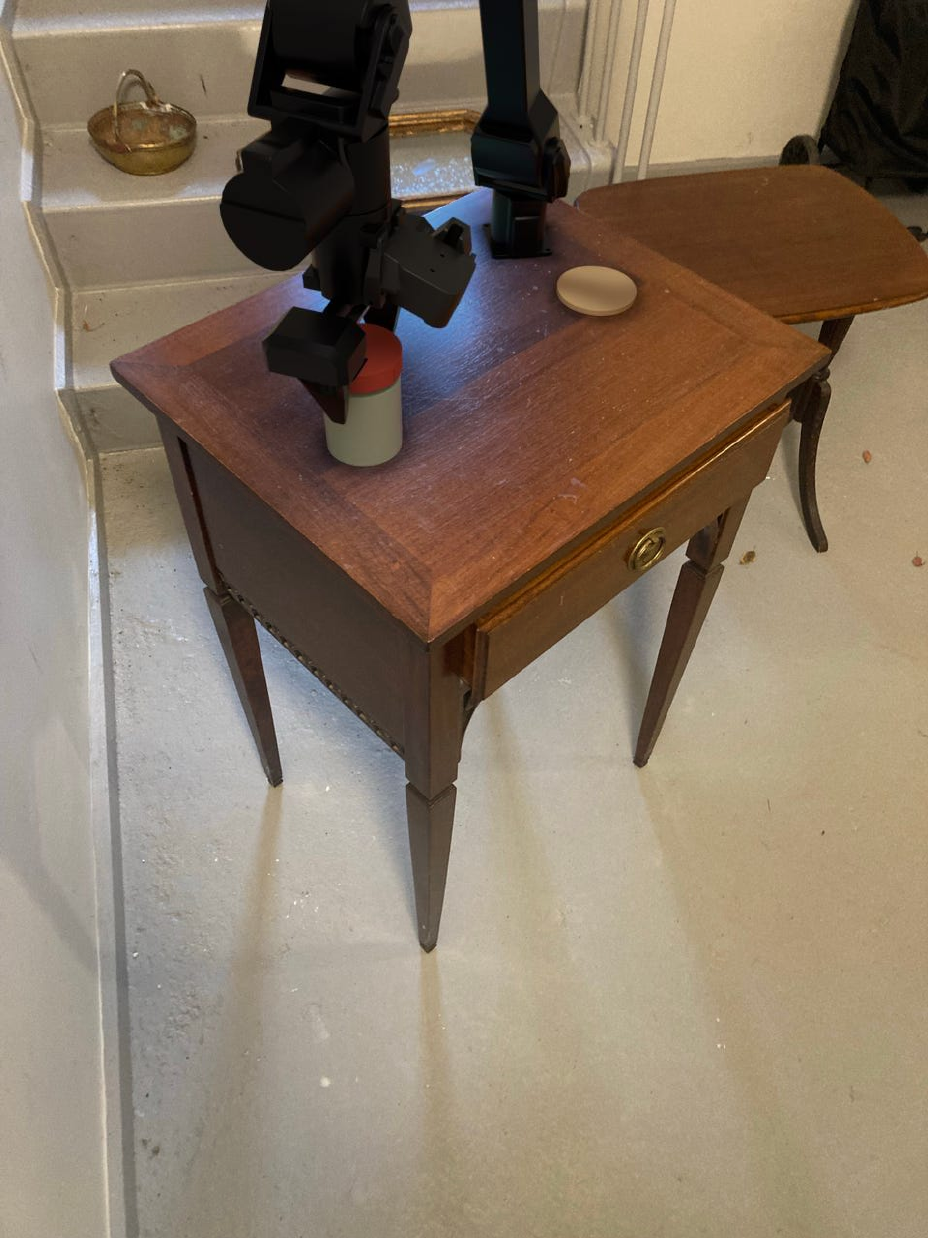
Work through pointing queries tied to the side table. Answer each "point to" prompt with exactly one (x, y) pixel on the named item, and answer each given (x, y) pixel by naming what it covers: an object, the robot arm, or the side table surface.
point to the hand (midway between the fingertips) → (362, 386)
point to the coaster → (596, 290)
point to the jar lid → (379, 360)
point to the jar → (368, 428)
